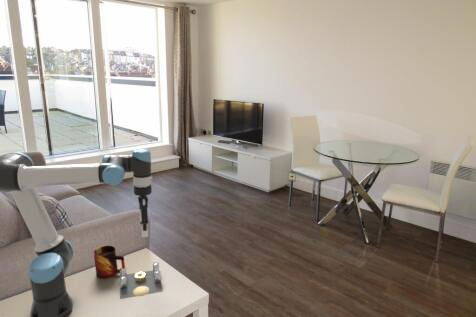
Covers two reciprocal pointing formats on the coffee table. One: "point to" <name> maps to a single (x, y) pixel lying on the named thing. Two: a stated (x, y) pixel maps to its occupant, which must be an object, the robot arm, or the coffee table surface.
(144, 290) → the mat
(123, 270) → the spacer far left
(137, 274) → the nut
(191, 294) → the coffee table surface
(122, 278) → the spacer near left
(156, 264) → the spacer far right
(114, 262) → the mug
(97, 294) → the coffee table surface
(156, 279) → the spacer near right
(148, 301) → the coffee table surface
